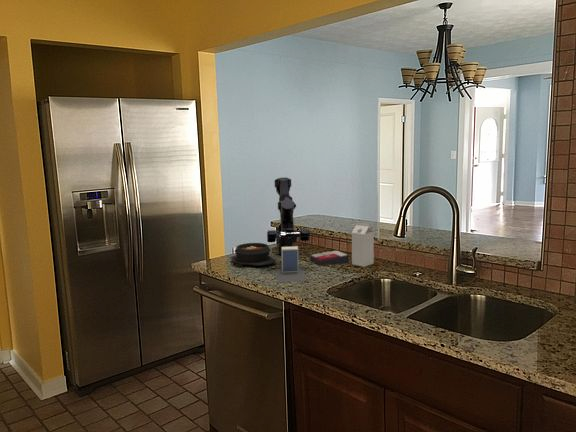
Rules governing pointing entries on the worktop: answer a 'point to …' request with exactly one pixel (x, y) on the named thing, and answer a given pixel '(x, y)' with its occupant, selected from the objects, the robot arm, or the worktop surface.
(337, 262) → the calculator
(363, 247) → the milk carton
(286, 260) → the box
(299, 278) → the mat
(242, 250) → the casserole
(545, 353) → the worktop surface
